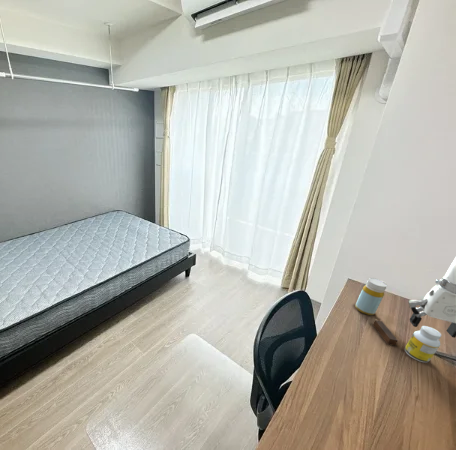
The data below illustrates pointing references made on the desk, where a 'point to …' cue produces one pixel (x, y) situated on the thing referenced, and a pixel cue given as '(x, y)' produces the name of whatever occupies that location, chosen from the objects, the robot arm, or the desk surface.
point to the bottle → (371, 296)
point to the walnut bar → (385, 332)
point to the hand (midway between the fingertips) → (431, 329)
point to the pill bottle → (423, 344)
